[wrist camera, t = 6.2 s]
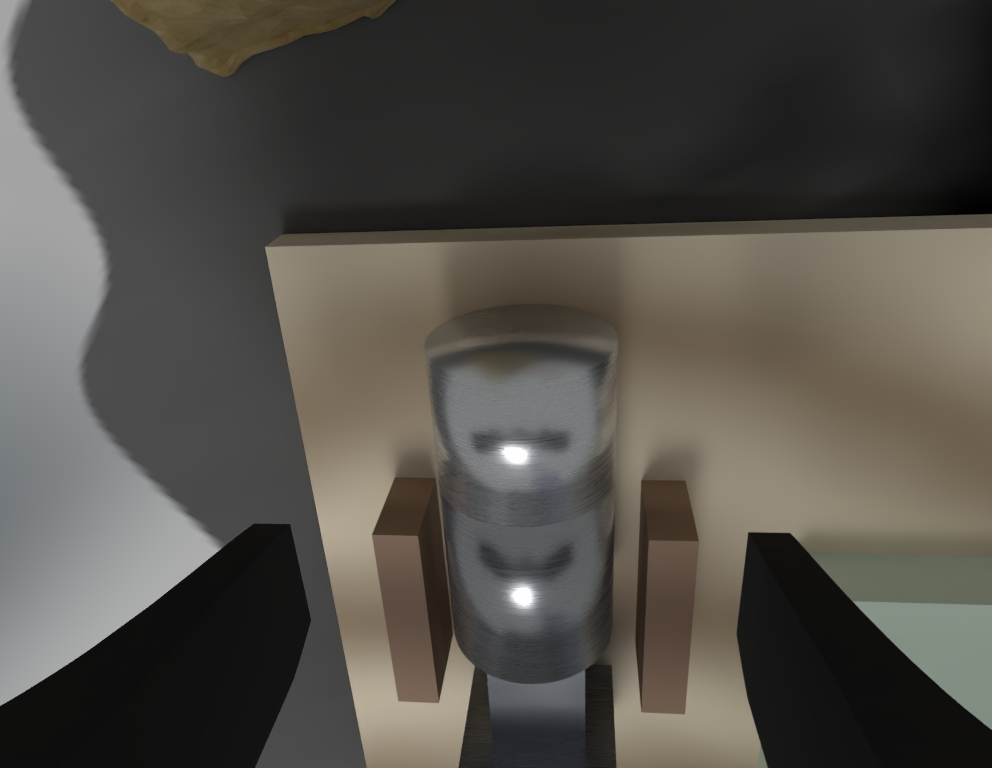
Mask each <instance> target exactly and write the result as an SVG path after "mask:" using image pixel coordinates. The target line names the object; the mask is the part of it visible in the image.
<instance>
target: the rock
mask: <svg viewBox="0 0 992 768" xmlns="http://www.w3.org/2000/svg"><path fill="white" fill-rule="evenodd" d="M110 1H112V2H113V3H114V4H115V5H116V6H117V7H118V8H119V9H120V10H121V11H122V12H123V13H124V14H125V15H126V16H128V17H129V18H131V19H133V20H134V21H136V22H138V23H140V24H142V25H144V26H145V27H147V28H149V29H150V30H152V31H153V32H154V33H156V34H157V35H158V36H159V37H160V38H161V40H162V41H163V42H164V43H165V44H166V46H167V47H168V49H169V50H171V51H173V52H176V53H178V54H186V53H187V54H188V55H189V56H191V57H192V58H193V60H194V62H195V64H196V65H197V66H198V67H200V68H203V69H206V70H208V71H210V72H212V73H215V74H217V75H219V76H221V77H228V76H230V75H233V74H234V73H235V72H236V70H237V69H238V68H239V67H240V65H241V64H242V63H243V62H244V61H245V60H247V59H248V58H249V57H251V56H252V55H255V54H258V53H261V52H265V51H268V50H272V49H275V48H278V47H280V46H283V45H286V44H289V43H292V42H294V41H296V40H298V39H299V38H301V37H302V36H305V35H310V34H317V33H322V32H326V31H332V30H336V29H338V28H340V27H342V26H344V25H346V24H349V23H351V22H353V21H355V20H357V19H358V18H360V17H362V16H367V17H370V18H371V19H374V18H378V17H379V16H381V15H382V14H383V13H384V12H385V11H386V10H387V9H388V8H389V7H390V6H391V5H392V4H393V3H394V2H395V1H396V0H110Z"/></svg>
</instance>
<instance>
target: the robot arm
mask: <svg viewBox="0 0 992 768" xmlns="http://www.w3.org/2000/svg"><path fill="white" fill-rule="evenodd" d="M310 622H311V618H310V613H309V608H308V604H307V599H306V595H305V590H304V586H303V581H302V577H301V572H300V567H299V563H298V558H297V554H296V549H295V545H294V540H293V535H292V531H291V526H290V524H253V525H252V526H250V527H249V528H248V529H246V530H245V531H244V532H242V533H241V534H240V535H238V536H237V537H236V538H234V539H233V540H232V541H231V542H229V543H228V544H227V545H226V546H224V547H223V548H222V549H221V550H219V551H218V552H217V553H216V554H215V555H213V556H212V557H211V558H210V559H208V560H207V561H206V562H205V563H203V564H202V565H201V566H200V567H198V568H197V569H196V570H195V571H193V572H192V573H191V574H190V575H188V576H187V577H186V578H185V579H183V580H182V581H181V582H179V583H178V584H177V585H176V586H174V587H173V588H172V589H171V590H169V591H168V592H167V593H166V594H164V595H163V596H162V597H161V598H159V599H158V600H157V601H156V602H154V603H153V604H152V605H150V606H149V607H148V608H146V609H145V610H143V611H142V612H141V613H139V614H138V615H137V616H135V617H134V618H133V619H131V620H130V621H128V622H127V623H126V624H124V625H123V626H122V627H120V628H119V629H118V630H116V631H115V632H113V633H112V634H111V635H109V636H108V637H106V638H105V639H104V640H102V641H101V642H100V643H98V644H97V645H96V646H95V647H93V648H91V649H90V650H88V651H87V652H86V653H84V654H83V655H81V656H80V657H79V658H77V659H75V660H74V661H73V662H71V663H69V664H68V665H66V666H65V667H63V668H62V669H60V670H58V671H57V672H55V673H54V674H52V675H51V676H49V677H48V678H46V679H44V680H43V681H41V682H39V683H38V684H36V685H35V686H33V687H31V688H30V689H28V690H26V691H25V692H24V693H22V694H20V695H18V696H17V697H15V698H13V699H12V700H10V701H8V702H7V703H5V704H3V705H1V706H0V768H255V766H256V764H257V761H258V759H259V757H260V755H261V753H262V750H263V748H264V746H265V744H266V741H267V739H268V737H269V735H270V732H271V730H272V728H273V726H274V723H275V721H276V719H277V716H278V714H279V712H280V710H281V707H282V705H283V703H284V700H285V698H286V696H287V693H288V691H289V689H290V686H291V684H292V682H293V679H294V676H295V673H296V670H297V667H298V663H299V660H300V657H301V654H302V650H303V647H304V643H305V640H306V636H307V632H308V629H309V625H310ZM736 635H737V641H738V647H739V653H740V659H741V665H742V671H743V677H744V682H745V688H746V693H747V698H748V702H749V705H750V709H751V712H752V716H753V719H754V723H755V726H756V730H757V733H758V736H759V740H760V743H761V747H762V750H763V753H764V757H765V760H766V763H767V767H768V768H992V730H991V729H990V728H989V727H988V726H986V725H985V724H984V723H983V722H981V721H980V720H979V719H978V718H976V717H975V716H974V715H973V714H971V713H970V712H969V711H968V710H966V709H965V708H964V707H963V706H962V705H961V704H959V703H958V702H957V701H956V700H955V699H953V698H952V697H951V696H950V695H949V694H948V693H946V692H945V691H944V690H943V689H942V688H941V687H940V686H939V685H938V684H936V683H935V682H934V681H933V680H932V679H931V678H930V677H929V676H928V675H927V674H926V673H924V672H923V671H922V670H921V669H920V668H919V667H918V666H917V665H916V664H915V663H913V662H912V661H911V660H910V659H909V658H908V657H907V656H906V655H905V654H904V653H903V652H902V651H901V650H900V649H899V648H898V647H897V646H896V645H895V644H894V643H893V642H892V641H891V640H890V639H889V638H888V637H887V636H886V635H885V634H884V633H883V632H882V631H881V630H880V629H879V628H878V627H877V626H876V625H875V624H874V623H873V622H872V621H871V620H870V619H869V618H868V617H867V616H866V615H865V614H864V613H863V612H862V611H861V610H860V609H859V607H858V606H857V605H856V604H855V603H854V602H853V601H852V600H851V599H850V598H849V597H848V596H847V595H846V594H845V593H844V591H843V590H842V589H841V588H840V587H839V586H838V585H837V584H836V583H835V582H834V581H833V579H832V578H831V577H830V576H829V575H828V574H827V573H826V572H825V571H824V569H823V568H822V567H821V566H820V565H819V564H818V563H817V562H816V561H815V559H814V558H813V557H812V556H811V555H810V554H809V553H808V552H807V550H806V549H805V548H804V547H803V546H802V545H801V544H800V543H799V542H798V540H797V539H796V538H795V537H794V536H793V535H792V534H791V533H765V532H748V539H747V547H746V556H745V564H744V573H743V581H742V590H741V598H740V607H739V615H738V624H737V632H736Z"/></svg>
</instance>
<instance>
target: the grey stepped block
mask: <svg viewBox="0 0 992 768" xmlns="http://www.w3.org/2000/svg"><path fill="white" fill-rule="evenodd" d="M458 768H617V766H616V744H615V723H614V702H613V680H612V665H591V666H589V667H588V668H587V669H585V670H583V671H582V672H580V673H578V674H576V675H574V676H572V677H569V678H566V679H563V680H560V681H556V682H550V683H543V684H521V683H514V682H509V681H505V680H501V679H499V678H496V677H493V676H491V675H489V674H487V673H485V672H483V671H482V670H480V669H479V668H477V667H476V666H475V668H474V674H473V680H472V687H471V693H470V699H469V705H468V711H467V718H466V724H465V730H464V736H463V742H462V748H461V755H460V761H459V767H458Z"/></svg>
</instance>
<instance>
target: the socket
mask: <svg viewBox="0 0 992 768" xmlns="http://www.w3.org/2000/svg"><path fill="white" fill-rule="evenodd" d="M372 539H373V545H374V552H375V558H376V564H377V570H378V577H379V583H380V589H381V596H382V602H383V608H384V615H385V621H386V627H387V633H388V640H389V646H390V652H391V659H392V665H393V671H394V678H395V684H396V690H397V696H398V701H401V702H423V703H439V700H440V695H441V691H442V686H443V681H444V676H445V671H446V666H447V661H448V656H449V651H450V647H451V642H452V637H453V632H452V623H451V614H450V604H449V595H448V586H447V577H446V567H445V558H444V549H443V539H442V530H441V521H440V511H439V502H438V493H437V483H436V478H394V481H393V483H392V486H391V488H390V491H389V493H388V496H387V498H386V501H385V503H384V506H383V508H382V511H381V513H380V516H379V518H378V521H377V523H376V526H375V528H374V531H373V533H372ZM698 548H699V539H698V534H697V530H696V525H695V521H694V516H693V512H692V507H691V503H690V498H689V494H688V489H687V485H686V481H679V480H641V497H640V525H639V552H638V579H637V607H636V634H635V645H636V657H637V668H638V680H639V692H640V703H641V712H643V713H665V714H685V709H686V697H687V684H688V672H689V660H690V647H691V635H692V622H693V610H694V598H695V585H696V573H697V560H698Z"/></svg>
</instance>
